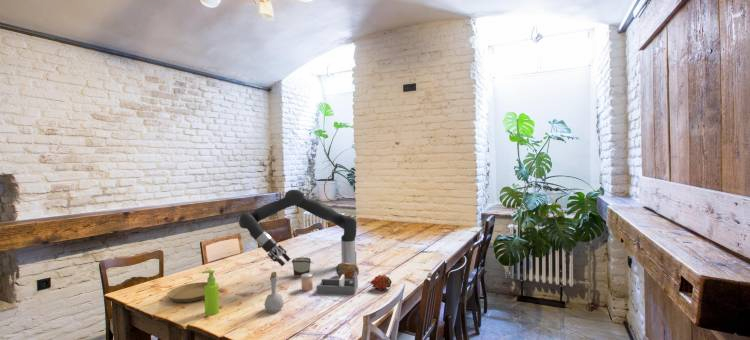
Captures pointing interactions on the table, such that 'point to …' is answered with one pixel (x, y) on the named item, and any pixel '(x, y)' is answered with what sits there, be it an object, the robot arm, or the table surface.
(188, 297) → the plant saucer
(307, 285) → the jar
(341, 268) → the brown lumpy slab
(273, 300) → the potion bottle
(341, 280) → the pusher
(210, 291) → the soap dispenser
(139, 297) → the table surface
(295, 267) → the food container
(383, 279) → the dragon fruit
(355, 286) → the grey low-walled tray
